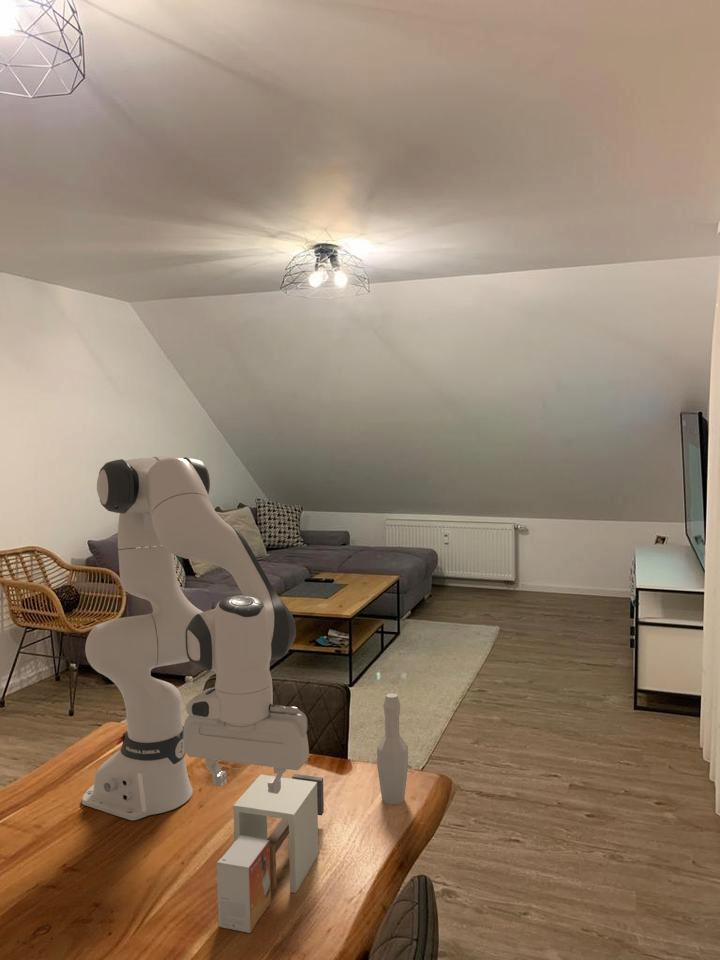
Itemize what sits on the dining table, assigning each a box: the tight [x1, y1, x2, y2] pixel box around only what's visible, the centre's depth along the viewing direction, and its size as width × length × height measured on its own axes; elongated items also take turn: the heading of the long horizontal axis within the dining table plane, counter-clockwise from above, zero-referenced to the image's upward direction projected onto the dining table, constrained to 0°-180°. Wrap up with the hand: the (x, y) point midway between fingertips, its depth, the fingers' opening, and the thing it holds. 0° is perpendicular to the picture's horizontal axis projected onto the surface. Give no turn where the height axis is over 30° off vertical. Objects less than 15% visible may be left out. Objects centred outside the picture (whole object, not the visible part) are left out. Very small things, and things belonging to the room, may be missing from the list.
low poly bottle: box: [376, 693, 409, 806], centre depth 144 cm, size 6×6×22 cm
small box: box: [216, 835, 272, 934], centre depth 110 cm, size 8×6×10 cm
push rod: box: [267, 773, 325, 890], centre depth 125 cm, size 6×24×7 cm, turn 164°
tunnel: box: [232, 774, 319, 894], centre depth 122 cm, size 11×11×14 cm
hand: (246, 787), depth 110 cm, fingers open, 8 cm apart
